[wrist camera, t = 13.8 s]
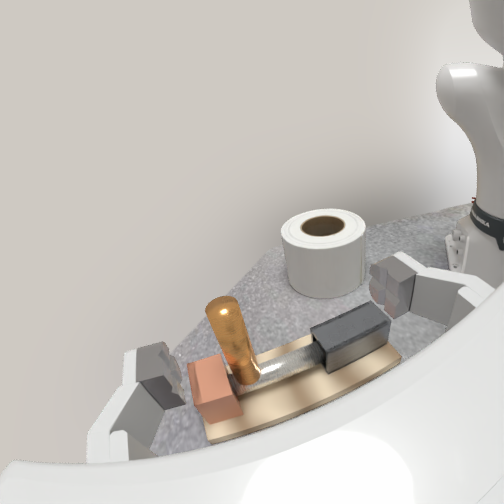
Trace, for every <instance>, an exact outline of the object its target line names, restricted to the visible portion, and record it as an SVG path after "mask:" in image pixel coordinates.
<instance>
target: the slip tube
mask: <svg viewBox="0 0 504 504" xmlns="http://www.w3.org/2000/svg"><path fill="white" fill-rule="evenodd" d="M205 312H206V314H207V317H208V319H209V322H210V324H211V326H212V329H213V331H214V333H215V335H216V338H217V340H218V342H219V345H220V347H221V349H222V351H223V353H224V356H225V358H226V360H227V362H228V364H229V367H230V369H231V371H232V374H229V375H228V378H229V382H230V385H231V388H232V390H233V392H234V394H235V396H239V395H242V394H245V393H248V392H251V391H253V390H256V389H259V388H262V387H265V386H267V385H270V384H273V383H275V382H278V381H280V380H283V379H285V378H288V377H290V376H293V375H295V374H298V373H300V372H302V371H305V370H307V369H309V368H312V367H314V366H316V365H319V364H321V363H323V362H325V361H326V352H325V351H324V350H323V348H322V347H321V345H320V344H319V342H318V341H315V342H313V343H310V344H308V345H306V346H303V347H301V348H299V349H296V350H294V351H291V352H289V353H286V354H284V355H281V356H279V357H276V358H273V359H271V360H268V361H266V362H263V363H260V364H258V362H257V359H256V356H255V353H254V350H253V347H252V344H251V341H250V338H249V335H248V332H247V329H246V326H245V323H244V320H243V317H242V314H241V311H240V308H239V304H238V301H237V300H236V299H235V298H234V297H231V296H222V297H218V298H216V299H214V300H212V301H211V302H210V303H209V304H208V305H207V306H206V309H205Z"/></svg>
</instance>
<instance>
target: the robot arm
mask: <svg viewBox="0 0 504 504" xmlns="http://www.w3.org/2000/svg"><path fill="white" fill-rule="evenodd" d="M469 2H470V8H471V15H472V22H473V25H474V27H475V29H476V31H477V32H478V34H479V35H480V36H481V38H482V39H483V40H484V41H485V42H487V43H488V44H489V45H490V46H491V47H493V48H494V49H495V50H497V51H498V52H499V53H501V54H502V55H503V61H504V0H469ZM436 92H437V97H438V99H439V102H440V104H441V106H442V108H443V110H444V111H445V112H446V114H447V115H448V116H449V117H450V118H451V119H452V120H453V121H455V122H456V123H457V124H458V125H459V126H460V127H461V129H462V130H463V131H464V132H465V134H466V135H467V137H468V138H469V141H470V142H471V144H472V147H473V150H474V153H475V157H476V163H477V195H476V198H473V197H472V199H475V200H474V201H472V203H473V206H472V208H471V212H470V214H469V215H467V216H465V217H463V218H461V219H459V220H458V222H457V224H456V230H453V231H452V234H449V235H447V236H446V237H445V244H446V251H447V257H448V264H449V271H448V270H442V269H437V268H432V267H429V268H426V267H424V266H423V265H421V264H420V263H418V262H417V261H416V260H414V259H413V258H411V257H410V256H408V255H407V254H405V253H404V252H400V251H399V252H397V253H395V254H393V255H391V256H390V257H387V258H385V259H383V260H381V261H378V262H376V263H374V264H372V265H371V267H370V275H371V276H372V279H371V281H370V282H369V290H370V293H371V296H372V298H373V299H374V301H375V302H376V303H377V304H381V305H384V310H385V311H386V312H387V313H388V314H389V315H390V316H391V317H392V318H393V319H396V318H398V317H399V316H401V315H403V314H405V313H407V312H409V311H410V312H411V313H414V314H417V315H419V316H422V317H425V318H427V319H430V320H433V321H436V322H438V323H441V324H444V325H446V326H447V328H446V331H445V333H444V334H443V335H442V336H440V337H439V338H438V339H436V340H435V341H434V342H432V343H431V344H429V345H428V346H427V347H425V348H424V349H422V350H421V351H419V352H418V353H417V354H415V355H414V356H412V357H411V358H409V359H408V360H406V361H404V362H403V363H401V364H400V365H398V366H397V367H395V368H393V369H392V370H390V371H388V372H387V373H385V374H383V375H382V376H380V377H378V378H377V379H375V380H373V381H371V382H370V383H368V384H366V385H364V386H362V387H360V388H359V389H357V390H355V391H353V392H351V393H349V394H347V395H345V396H343V397H341V398H339V399H337V400H335V401H333V402H331V403H329V404H327V405H325V406H322V407H320V408H318V409H316V410H314V411H311V412H309V413H307V414H304V415H302V416H300V417H297V418H295V419H292V420H290V421H287V422H285V423H282V424H279V425H277V426H274V427H271V428H268V429H266V430H263V431H260V432H257V433H254V434H251V435H248V436H244V437H241V438H238V439H234V440H231V441H228V442H224V443H220V444H217V445H213V446H209V447H205V448H200V449H196V450H192V451H187V452H182V453H177V454H172V455H166V456H160V457H159V456H158V455H156V454H155V453H153V452H152V451H150V450H149V449H150V447H151V444H152V442H153V440H154V437H155V435H156V432H157V430H158V427H159V425H160V422H161V420H162V418H163V415H164V413H165V411H164V410H167V409H171V408H174V407H178V406H182V405H185V404H186V401H185V395H184V389H183V388H182V387H181V385H180V383H181V381H182V376H181V372H180V368H179V366H178V363H177V361H176V360H175V358H174V357H173V356H171V355H169V348H168V347H167V345H166V344H165V342H159V343H155V344H152V345H148V346H144V347H141V348H138V349H133V350H130V351H126V352H125V354H124V364H123V379H122V386H120V387H118V389H117V390H116V392H115V393H114V394H113V396H112V397H111V399H110V400H109V402H108V403H107V405H106V406H105V408H104V409H103V411H102V412H101V414H100V415H99V417H98V418H97V420H96V421H95V423H94V425H93V426H92V428H91V429H90V430H89V432H88V436H87V458H86V463H76V464H75V463H46V462H45V463H44V462H32V461H24V460H13V461H11V462H10V463H9V464H8V466H7V467H6V468H5V469H4V470H3V472H2V473H1V475H0V504H504V64H503V67H502V68H497V67H493V66H487V65H482V64H476V63H469V62H465V63H464V62H463V63H453V64H445V65H444V66H443V67H442V68H441V69H440V71H439V73H438V76H437V79H436Z"/></svg>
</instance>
